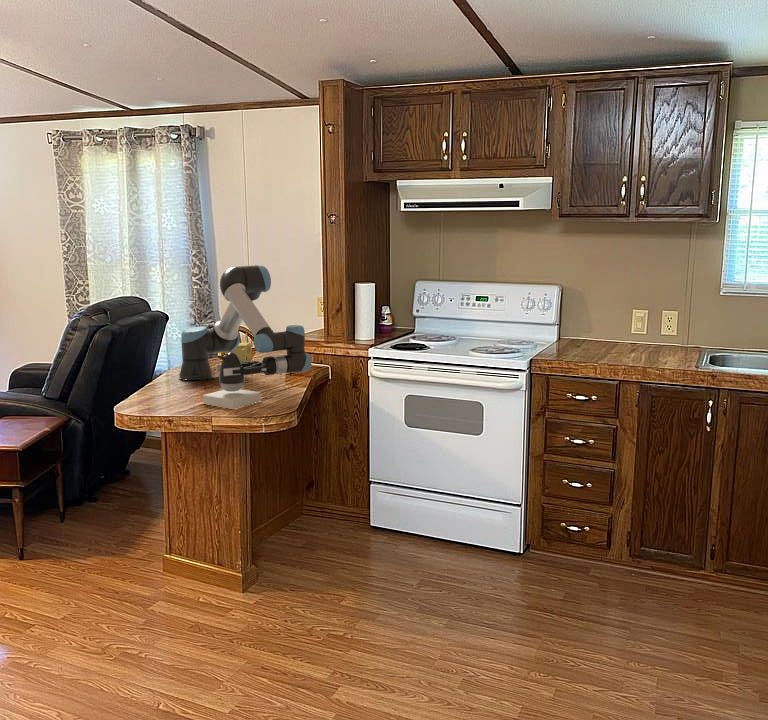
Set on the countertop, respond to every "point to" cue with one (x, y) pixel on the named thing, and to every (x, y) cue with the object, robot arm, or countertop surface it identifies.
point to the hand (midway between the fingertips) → (220, 370)
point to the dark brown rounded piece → (230, 381)
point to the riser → (231, 398)
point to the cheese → (243, 352)
